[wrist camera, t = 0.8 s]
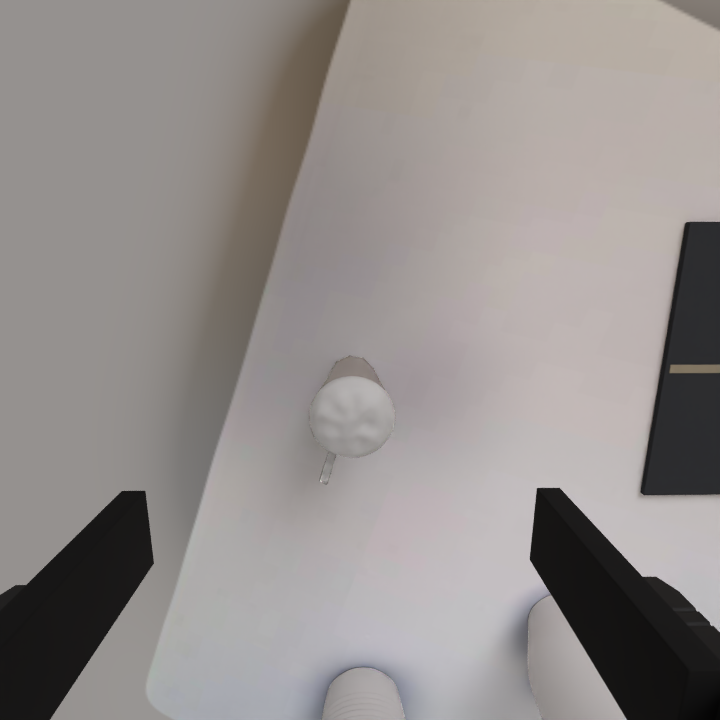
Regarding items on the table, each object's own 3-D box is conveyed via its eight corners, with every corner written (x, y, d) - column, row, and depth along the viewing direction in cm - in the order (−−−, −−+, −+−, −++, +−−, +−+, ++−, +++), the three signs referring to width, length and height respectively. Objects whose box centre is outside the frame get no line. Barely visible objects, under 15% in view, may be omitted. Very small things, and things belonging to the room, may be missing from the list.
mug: (528, 562, 34) (620, 719, 23) (628, 586, 35) (767, 750, 23) (480, 675, 37) (539, 869, 25) (574, 695, 37) (674, 893, 26)
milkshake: (304, 398, 31) (281, 463, 21) (339, 334, 30) (332, 371, 20) (359, 427, 31) (362, 502, 22) (395, 365, 30) (415, 414, 21)
